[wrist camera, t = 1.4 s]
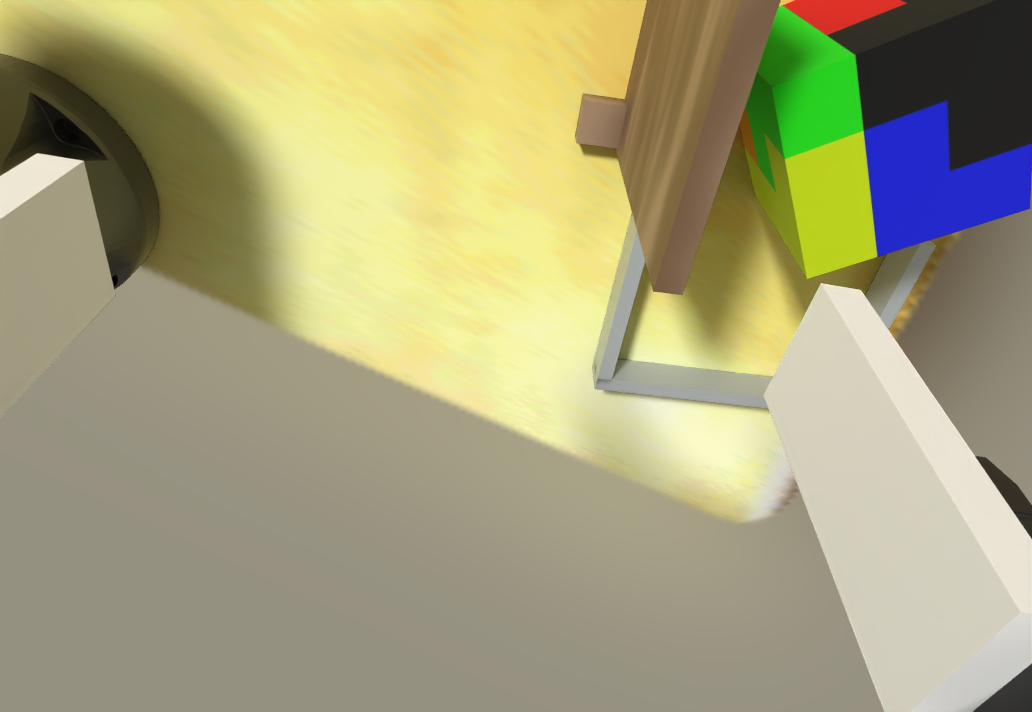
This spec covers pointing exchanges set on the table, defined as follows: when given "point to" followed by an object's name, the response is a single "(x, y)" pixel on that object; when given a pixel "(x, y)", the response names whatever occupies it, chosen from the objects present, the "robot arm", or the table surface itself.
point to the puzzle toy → (889, 123)
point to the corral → (713, 384)
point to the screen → (679, 120)
